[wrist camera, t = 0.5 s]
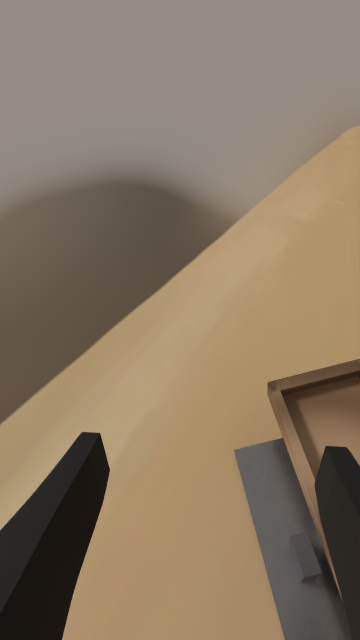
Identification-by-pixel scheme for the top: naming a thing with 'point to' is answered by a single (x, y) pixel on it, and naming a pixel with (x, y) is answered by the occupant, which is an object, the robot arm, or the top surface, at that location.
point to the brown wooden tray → (318, 423)
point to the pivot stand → (291, 546)
